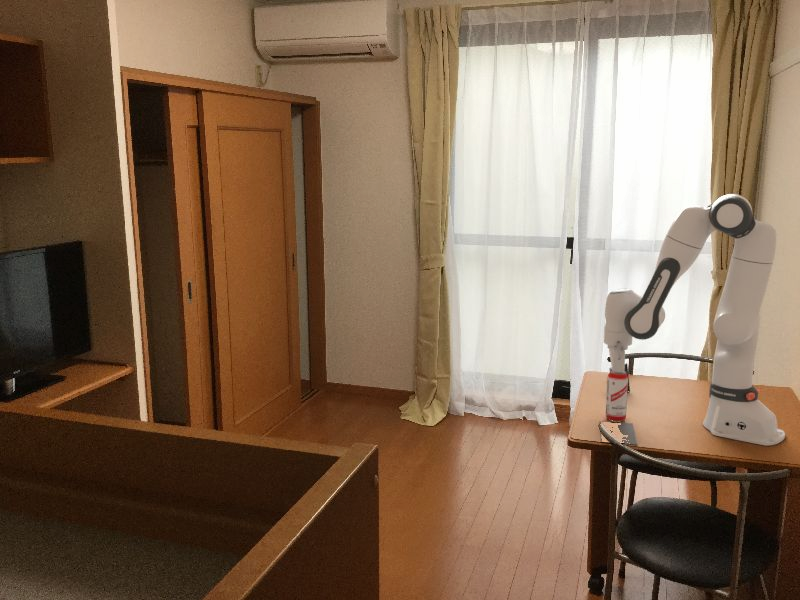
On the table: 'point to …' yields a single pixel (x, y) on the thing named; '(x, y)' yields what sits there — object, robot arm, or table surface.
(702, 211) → the robot arm
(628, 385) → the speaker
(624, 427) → the mat
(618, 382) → the beer can
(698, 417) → the table surface
